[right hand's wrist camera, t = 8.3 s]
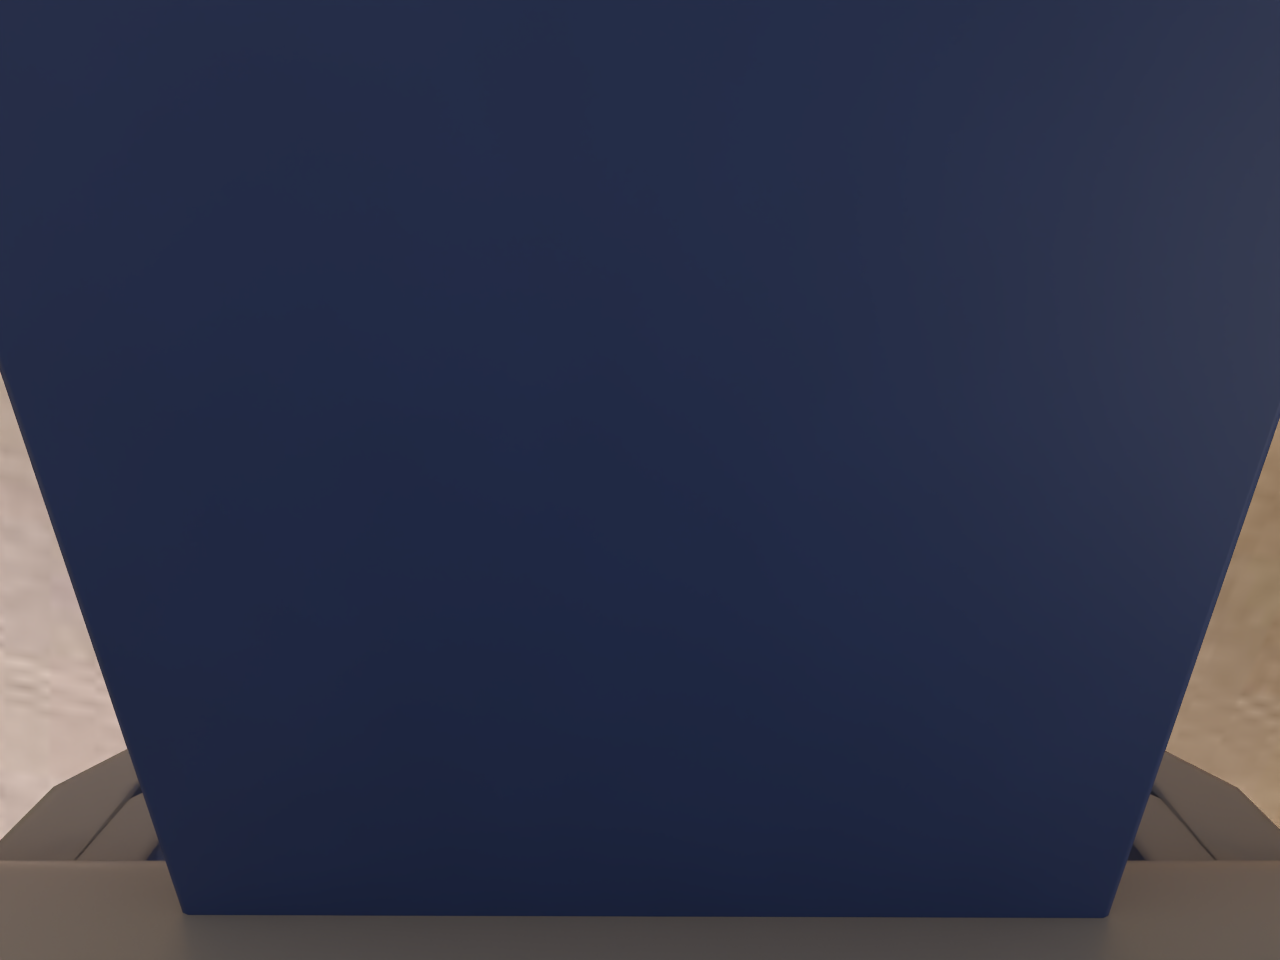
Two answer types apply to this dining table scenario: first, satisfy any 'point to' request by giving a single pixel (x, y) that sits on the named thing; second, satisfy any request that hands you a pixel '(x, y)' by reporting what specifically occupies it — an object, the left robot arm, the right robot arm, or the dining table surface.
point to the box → (643, 433)
